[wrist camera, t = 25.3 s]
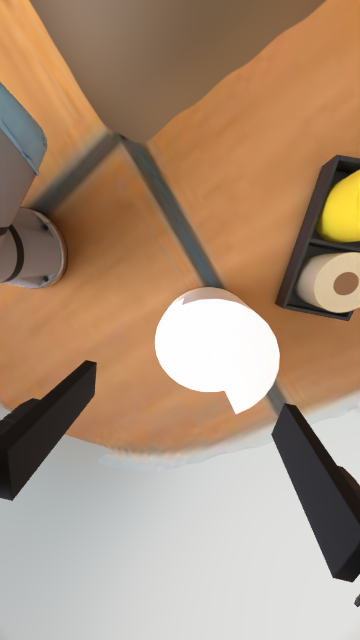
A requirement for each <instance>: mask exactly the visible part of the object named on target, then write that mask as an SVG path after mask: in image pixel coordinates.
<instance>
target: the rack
mask: <svg viewBox="0 0 360 640" xmlns="http://www.w3.org/2000/svg"><path fill="white" fill-rule="evenodd" d="M358 170H360V159H358V158H352V157H347V156H341V155H336V156H335V157H333V158H332V159H331V160H330V161H328V162H327V163H326V164H325V165H323V166H322V169H321V171H320V174H319V177H318V180H317V183H316V186H315V189H314V192H313V195H312V198H311V201H310V204H309V207H308V209H307V212H306V215H305V218H304V221H303V224H302V227H301V230H300V233H299V236H298V239H297V242H296V244H295V247H294V250H293V253H292V256H291V259H290V262H289V265H288V268H287V271H286V274H285V277H284V280H283V282H282V285H281V288H280V291H279V294H278V297H277V300H276V303H275V304H276V305H278V306H280V307H282V308H286V309H291V310H295V311H300V312H305V313H310V314H315V315H320V316H325V317H330V318H335V319H340V320H345V321H349V320H350V318H351V315H352V313H353V311H354V310H352V311H348V312H342V313H336V312H331V311H328V310H325V309H323V308H320V307H317V306H314V305H312V304H309V303H306V302H304V301H302V300H301V299H300V298H299V297H298V296H297V295H296V293H295V291H294V284H295V281H296V278H297V275H298V273H299V270H300V267H301V265H302V263H304V262H305V261H306V260H308V259H309V258H311V257H313V256H316V255H321V254H335V253H350V252H356V253H360V241H355V242H348V243H333V242H328V241H326V240H325V239H323V238H322V237H321V236H320V235H319V234H318V232H317V230H316V228H315V226H316V223H317V220H318V217H319V214H320V212H321V209H322V206H323V203H324V201H325V198H326V195H327V192H328V190H329V188H330V187H331V186H332V185H334V184H335V183H337V182H339V181H341V180H342V179H344V178H346V177H348V176H349V175H351V174H353V173H355V172H356V171H358Z"/></svg>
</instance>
